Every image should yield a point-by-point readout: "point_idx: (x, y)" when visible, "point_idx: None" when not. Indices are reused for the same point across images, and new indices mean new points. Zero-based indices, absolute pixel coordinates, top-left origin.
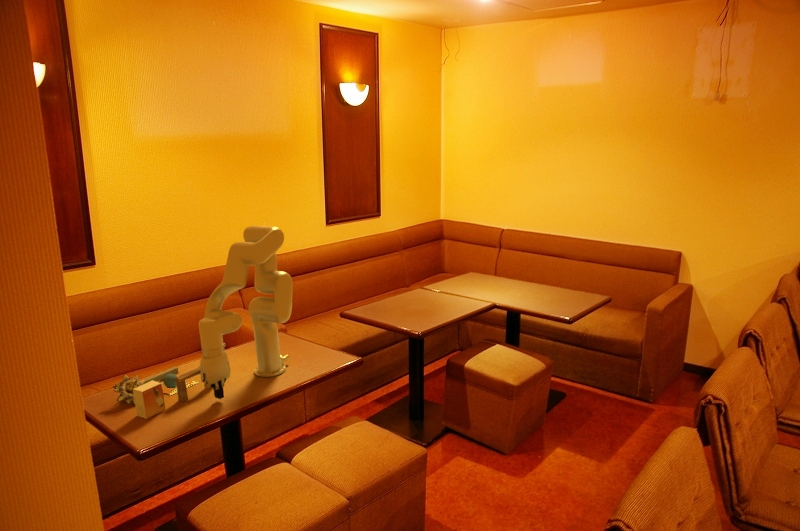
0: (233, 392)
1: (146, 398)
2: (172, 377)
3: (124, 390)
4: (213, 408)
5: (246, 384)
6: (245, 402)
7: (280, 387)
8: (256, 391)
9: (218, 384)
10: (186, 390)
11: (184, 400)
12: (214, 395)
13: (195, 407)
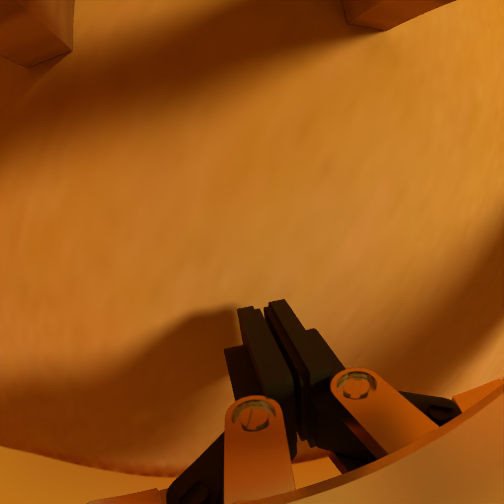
0: (406, 256)
1: None
2: None
3: None
4: (154, 383)
5: (491, 218)
6: None
7: (486, 371)
8: (450, 347)
9: (336, 424)
10: (23, 10)
11: (30, 62)
12: (224, 352)
13: (45, 255)
